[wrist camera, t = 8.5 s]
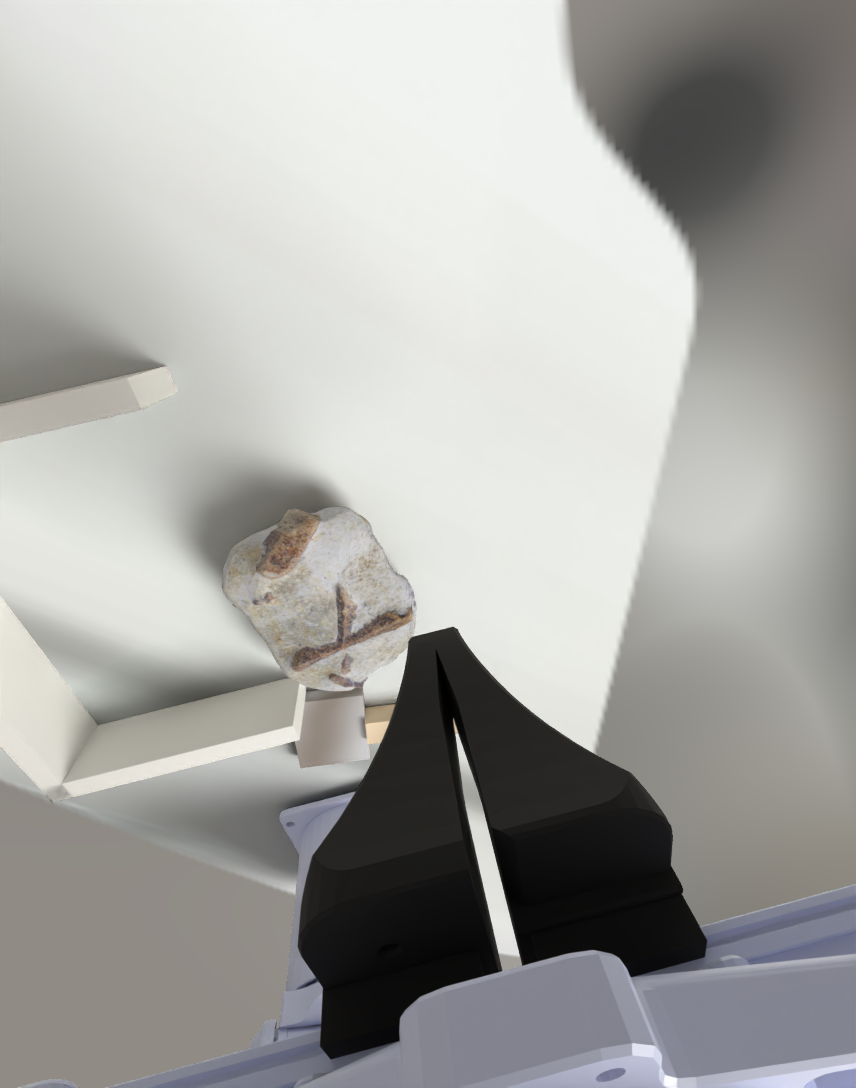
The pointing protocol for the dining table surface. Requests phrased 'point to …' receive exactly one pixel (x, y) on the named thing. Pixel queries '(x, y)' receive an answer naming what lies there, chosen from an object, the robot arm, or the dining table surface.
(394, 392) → the dining table surface
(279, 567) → the stone
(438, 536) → the dining table surface
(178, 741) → the bin
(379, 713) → the scoop
